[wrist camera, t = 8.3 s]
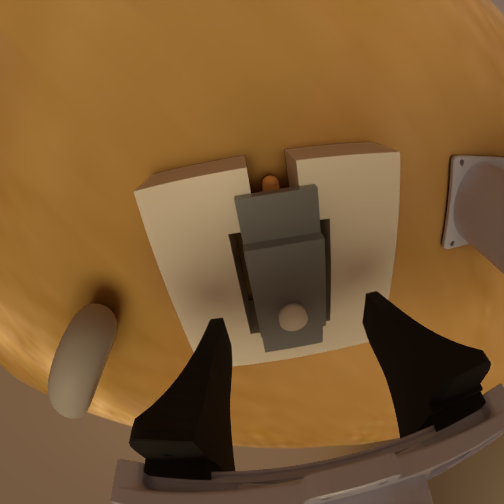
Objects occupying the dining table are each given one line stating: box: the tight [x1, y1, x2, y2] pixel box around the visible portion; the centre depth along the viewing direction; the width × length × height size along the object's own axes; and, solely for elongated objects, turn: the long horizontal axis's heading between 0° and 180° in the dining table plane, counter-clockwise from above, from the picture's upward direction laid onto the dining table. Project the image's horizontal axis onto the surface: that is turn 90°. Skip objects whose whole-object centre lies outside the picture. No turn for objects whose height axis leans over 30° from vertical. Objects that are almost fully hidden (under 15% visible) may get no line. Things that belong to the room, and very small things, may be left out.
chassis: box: [134, 142, 400, 366], centre depth 18 cm, size 14×14×4 cm
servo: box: [234, 175, 326, 352], centre depth 17 cm, size 4×11×6 cm, turn 9°
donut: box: [48, 304, 117, 418], centre depth 18 cm, size 10×4×10 cm, turn 148°
